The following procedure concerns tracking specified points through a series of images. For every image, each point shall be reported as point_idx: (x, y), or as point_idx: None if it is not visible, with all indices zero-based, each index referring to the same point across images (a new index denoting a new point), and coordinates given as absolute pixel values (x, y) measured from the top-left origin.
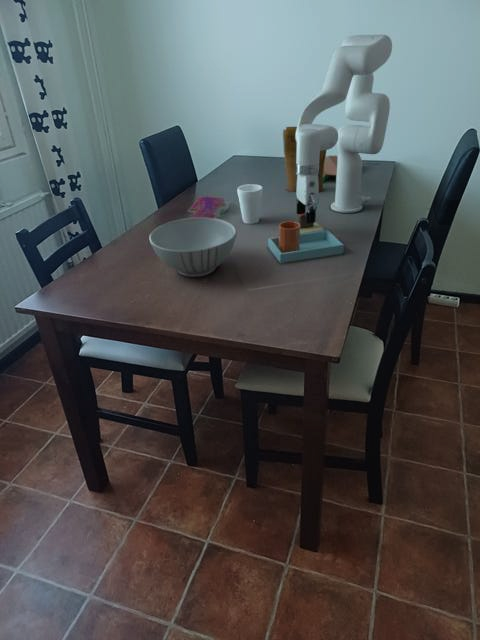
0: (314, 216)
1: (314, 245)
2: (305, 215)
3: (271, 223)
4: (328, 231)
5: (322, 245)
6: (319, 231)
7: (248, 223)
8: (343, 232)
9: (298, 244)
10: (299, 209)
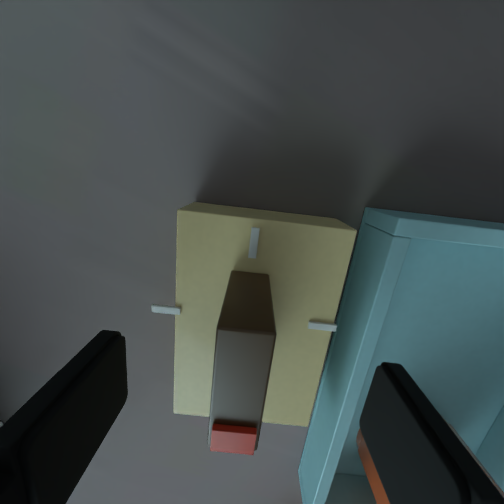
0: (436, 428)
1: (413, 322)
2: (251, 409)
3: (22, 370)
4: (431, 229)
5: (441, 286)
6: (387, 287)
7: None
8: (331, 27)
9: (489, 476)
10: (97, 428)
